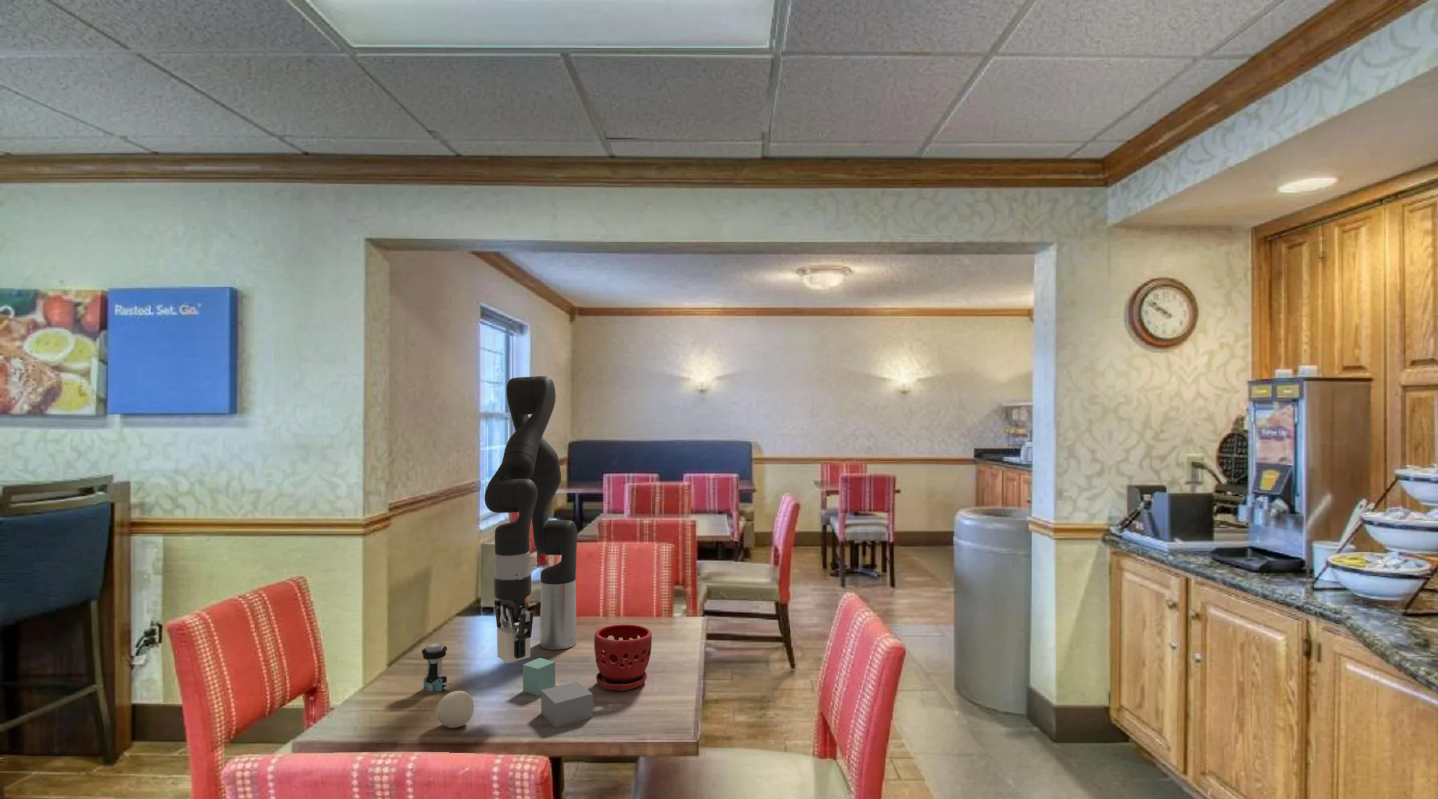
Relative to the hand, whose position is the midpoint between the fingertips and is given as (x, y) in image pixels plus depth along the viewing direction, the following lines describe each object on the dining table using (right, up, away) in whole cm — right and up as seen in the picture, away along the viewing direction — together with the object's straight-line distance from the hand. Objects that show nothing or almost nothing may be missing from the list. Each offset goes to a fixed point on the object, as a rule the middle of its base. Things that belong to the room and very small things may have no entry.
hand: (513, 653), depth 147 cm
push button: (-21, -12, +11) cm, 26 cm away
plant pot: (+21, -12, +13) cm, 28 cm away
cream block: (0, -1, 0) cm, 1 cm away
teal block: (+3, -12, +10) cm, 16 cm away
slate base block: (+12, -12, -3) cm, 17 cm away
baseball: (-10, -12, -8) cm, 17 cm away
